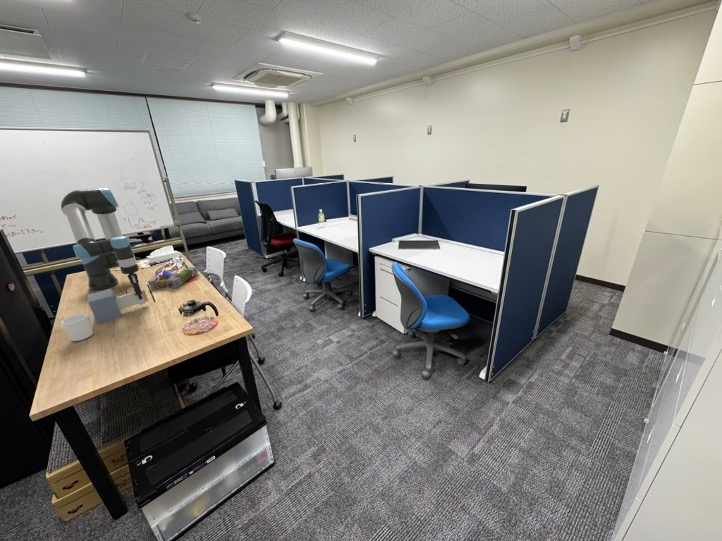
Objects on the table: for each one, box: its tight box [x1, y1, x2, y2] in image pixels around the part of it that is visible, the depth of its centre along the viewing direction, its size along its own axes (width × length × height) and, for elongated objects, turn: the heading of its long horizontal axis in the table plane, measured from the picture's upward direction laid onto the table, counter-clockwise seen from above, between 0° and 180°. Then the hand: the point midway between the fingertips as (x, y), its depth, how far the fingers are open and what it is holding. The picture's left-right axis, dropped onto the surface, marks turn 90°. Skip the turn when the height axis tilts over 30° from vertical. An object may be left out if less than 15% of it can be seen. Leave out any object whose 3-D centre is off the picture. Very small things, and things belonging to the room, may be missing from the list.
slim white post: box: [115, 289, 149, 311], centre depth 160 cm, size 1×18×7 cm, turn 133°
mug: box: [60, 313, 94, 343], centre depth 138 cm, size 11×9×10 cm
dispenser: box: [87, 288, 122, 325], centre depth 154 cm, size 12×11×13 cm
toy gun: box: [147, 266, 200, 291], centre depth 196 cm, size 7×27×20 cm
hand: (142, 303), depth 165 cm, fingers closed on slim white post
